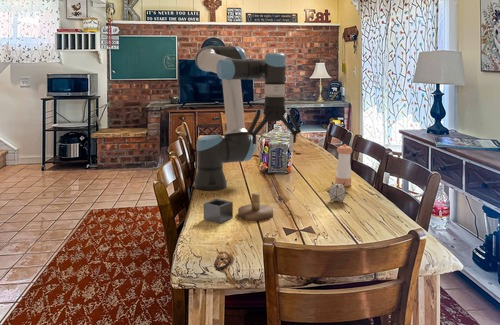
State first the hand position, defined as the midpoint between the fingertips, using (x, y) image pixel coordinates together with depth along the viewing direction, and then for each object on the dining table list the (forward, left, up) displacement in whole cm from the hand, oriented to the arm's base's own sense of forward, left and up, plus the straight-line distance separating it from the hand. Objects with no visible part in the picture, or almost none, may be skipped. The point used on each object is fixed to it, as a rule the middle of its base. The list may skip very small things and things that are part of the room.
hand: (273, 152), depth 164 cm
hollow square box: (-10, -23, -22) cm, 33 cm away
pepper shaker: (+10, +47, -22) cm, 53 cm away
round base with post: (-1, -12, -22) cm, 25 cm away
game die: (+18, +20, -22) cm, 35 cm away
